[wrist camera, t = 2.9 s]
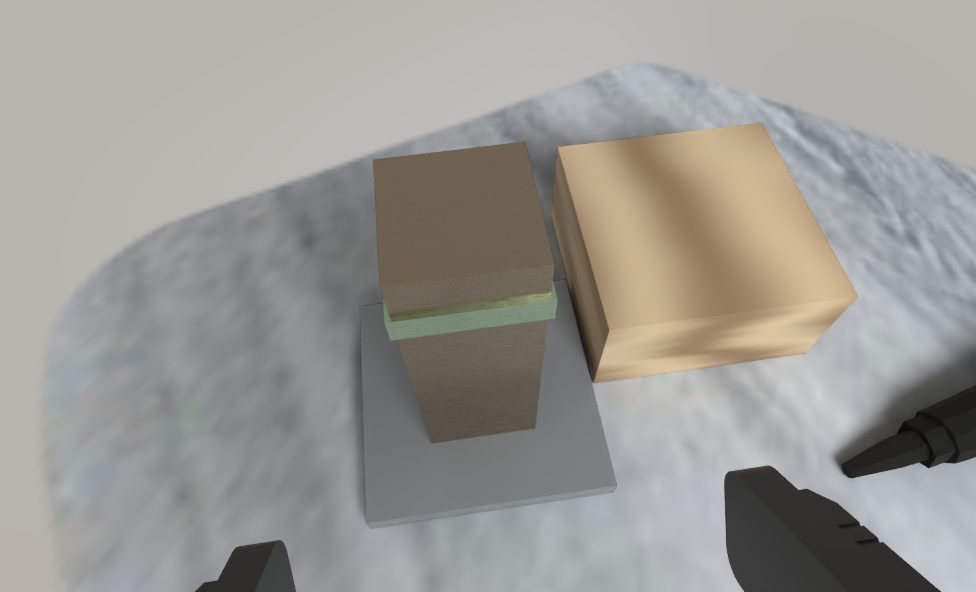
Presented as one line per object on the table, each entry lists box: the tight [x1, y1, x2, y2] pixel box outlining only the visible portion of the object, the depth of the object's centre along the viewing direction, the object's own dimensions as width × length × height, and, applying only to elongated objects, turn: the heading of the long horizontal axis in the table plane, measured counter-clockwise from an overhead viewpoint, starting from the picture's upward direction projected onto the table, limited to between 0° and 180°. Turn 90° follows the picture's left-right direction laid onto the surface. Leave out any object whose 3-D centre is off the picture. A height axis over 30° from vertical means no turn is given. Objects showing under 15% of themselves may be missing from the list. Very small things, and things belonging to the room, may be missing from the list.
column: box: [373, 142, 557, 444], centre depth 21 cm, size 5×5×12 cm
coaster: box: [360, 279, 617, 529], centre depth 27 cm, size 10×10×1 cm
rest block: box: [551, 123, 858, 383], centre depth 28 cm, size 10×10×5 cm
